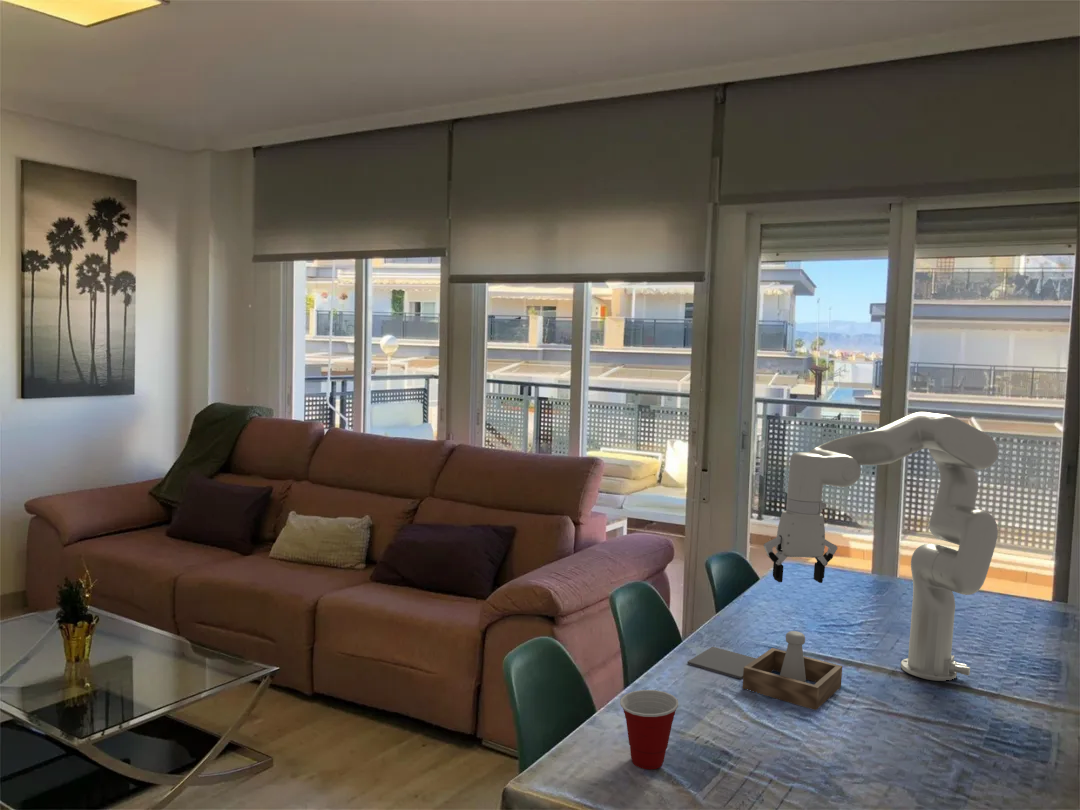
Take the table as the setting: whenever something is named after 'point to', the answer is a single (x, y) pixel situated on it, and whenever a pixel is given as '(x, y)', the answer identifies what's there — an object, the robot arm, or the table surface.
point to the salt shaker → (794, 657)
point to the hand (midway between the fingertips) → (797, 581)
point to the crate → (792, 680)
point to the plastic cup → (648, 725)
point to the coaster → (722, 661)
